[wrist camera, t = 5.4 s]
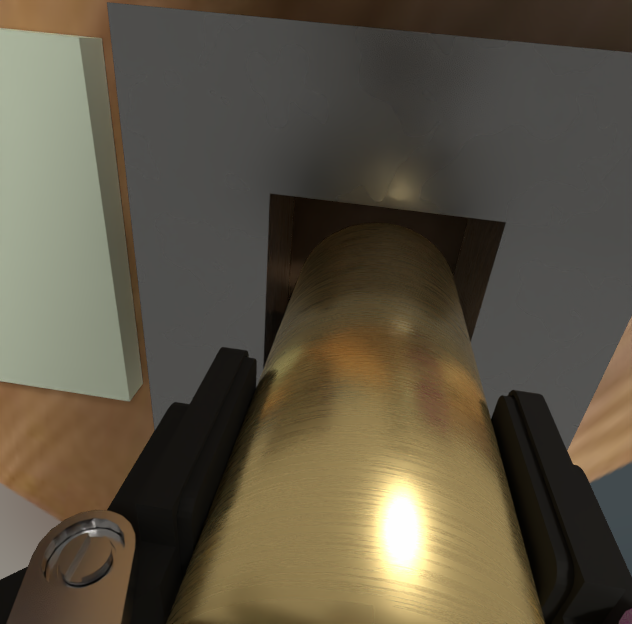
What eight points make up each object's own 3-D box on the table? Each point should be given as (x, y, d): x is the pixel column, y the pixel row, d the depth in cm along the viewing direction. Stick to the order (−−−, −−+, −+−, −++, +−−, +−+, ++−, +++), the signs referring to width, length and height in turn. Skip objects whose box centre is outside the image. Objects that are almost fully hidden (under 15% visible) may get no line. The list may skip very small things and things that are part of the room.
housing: (179, 14, 17) (106, 1, 12) (651, 59, 16) (751, 63, 11) (196, 376, 25) (156, 446, 20) (510, 424, 24) (538, 509, 19)
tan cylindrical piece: (303, 212, 14) (72, 675, 4) (473, 234, 14) (717, 810, 4) (293, 349, 17) (137, 852, 6) (436, 371, 16) (516, 941, 6)
